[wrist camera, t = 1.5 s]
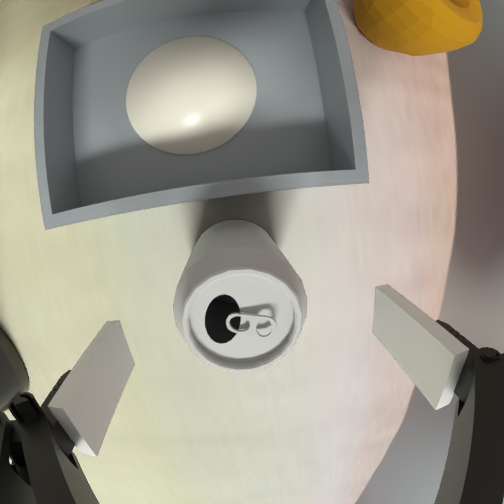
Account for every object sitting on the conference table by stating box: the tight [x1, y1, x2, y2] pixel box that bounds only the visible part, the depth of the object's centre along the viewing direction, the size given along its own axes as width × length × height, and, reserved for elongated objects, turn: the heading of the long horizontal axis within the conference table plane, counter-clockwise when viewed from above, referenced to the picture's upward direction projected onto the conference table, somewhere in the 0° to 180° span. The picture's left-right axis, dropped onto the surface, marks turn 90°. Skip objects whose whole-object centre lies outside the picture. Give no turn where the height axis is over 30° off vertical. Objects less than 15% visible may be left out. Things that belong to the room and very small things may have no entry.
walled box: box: [34, 0, 369, 230], centre depth 18 cm, size 24×18×6 cm
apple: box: [353, 0, 482, 56], centre depth 14 cm, size 11×11×13 cm
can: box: [173, 219, 307, 373], centre depth 20 cm, size 8×8×12 cm
